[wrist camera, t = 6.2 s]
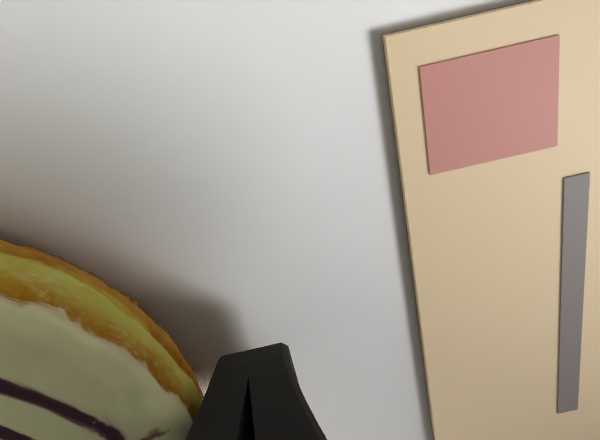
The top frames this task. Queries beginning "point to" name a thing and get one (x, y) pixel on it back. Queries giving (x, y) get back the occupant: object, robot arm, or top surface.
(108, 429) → the decorated donut
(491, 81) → the letter card
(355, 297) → the top surface
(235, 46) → the top surface
